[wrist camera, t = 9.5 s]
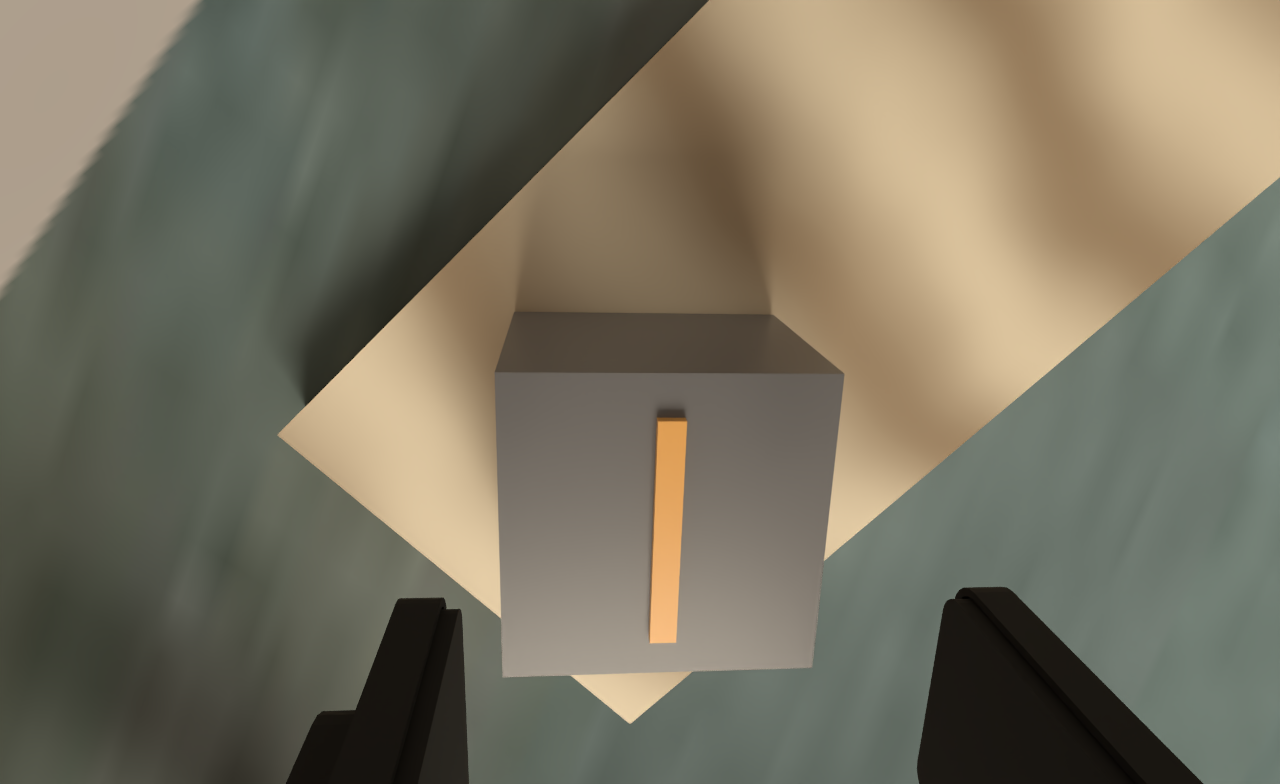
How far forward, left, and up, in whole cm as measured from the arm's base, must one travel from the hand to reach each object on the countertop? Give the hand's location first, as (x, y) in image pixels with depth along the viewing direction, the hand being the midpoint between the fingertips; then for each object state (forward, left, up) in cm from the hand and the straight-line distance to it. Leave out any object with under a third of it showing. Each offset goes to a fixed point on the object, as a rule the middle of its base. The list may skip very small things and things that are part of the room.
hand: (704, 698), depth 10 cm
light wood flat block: (-6, 0, -12) cm, 13 cm away
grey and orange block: (0, 0, -9) cm, 9 cm away
